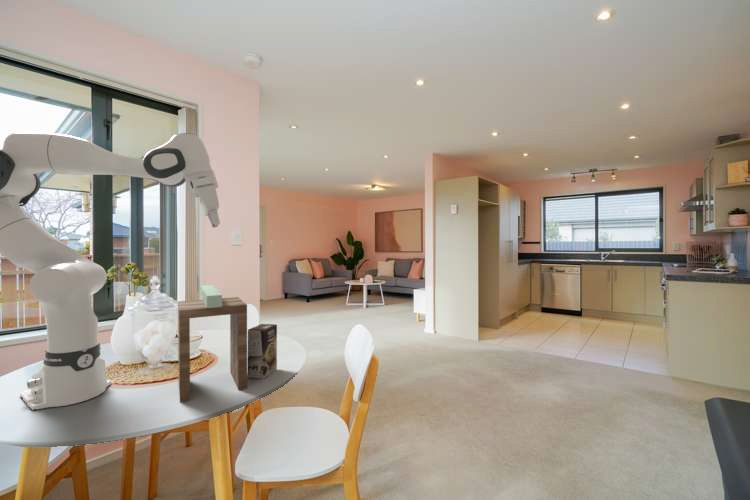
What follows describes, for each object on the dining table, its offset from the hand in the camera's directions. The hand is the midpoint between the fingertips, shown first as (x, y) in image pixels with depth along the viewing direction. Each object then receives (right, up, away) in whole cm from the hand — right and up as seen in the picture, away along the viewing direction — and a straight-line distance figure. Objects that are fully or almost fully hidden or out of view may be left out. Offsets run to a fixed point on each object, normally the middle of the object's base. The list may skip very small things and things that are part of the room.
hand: (216, 226), depth 111 cm
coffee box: (+13, -51, +6) cm, 53 cm away
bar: (-2, -24, 0) cm, 24 cm away
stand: (0, -50, -4) cm, 51 cm away
